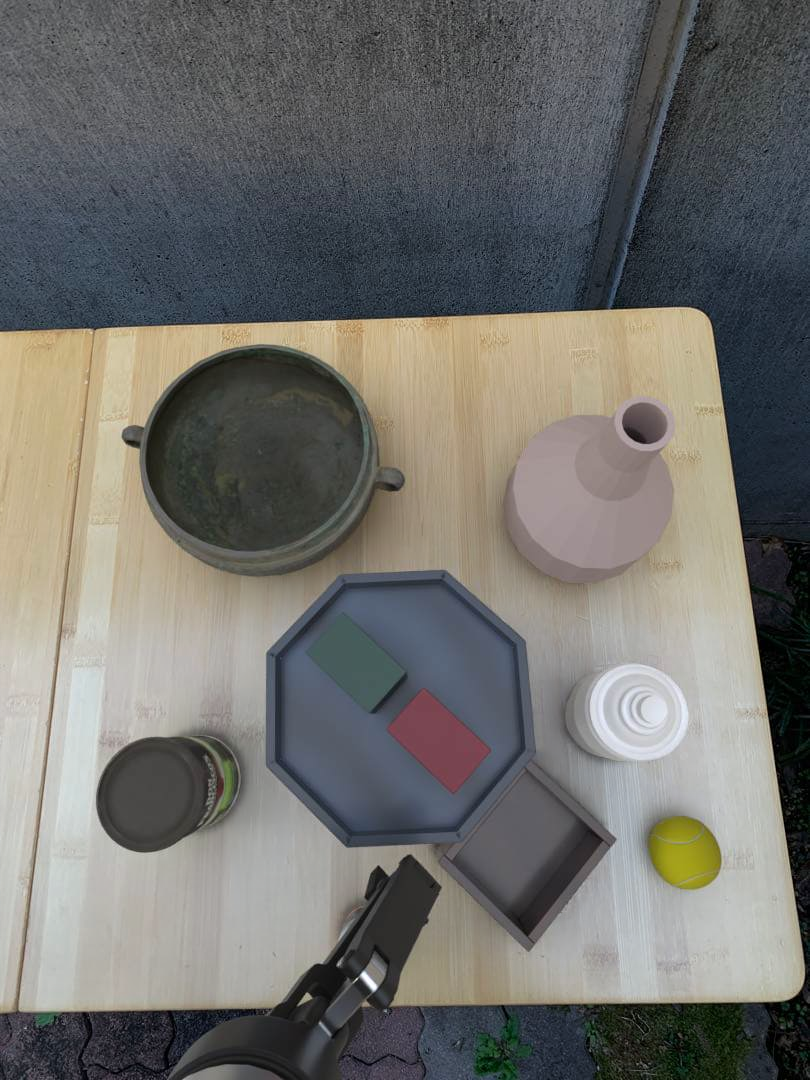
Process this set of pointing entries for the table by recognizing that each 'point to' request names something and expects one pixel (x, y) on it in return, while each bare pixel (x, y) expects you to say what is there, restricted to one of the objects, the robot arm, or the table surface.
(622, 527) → the vase
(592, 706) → the white stepped cylinder
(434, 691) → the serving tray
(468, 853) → the holder
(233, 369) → the bowl
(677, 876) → the tennis ball
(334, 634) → the packet green
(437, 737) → the red rectangular block
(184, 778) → the coffee can
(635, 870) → the table surface
